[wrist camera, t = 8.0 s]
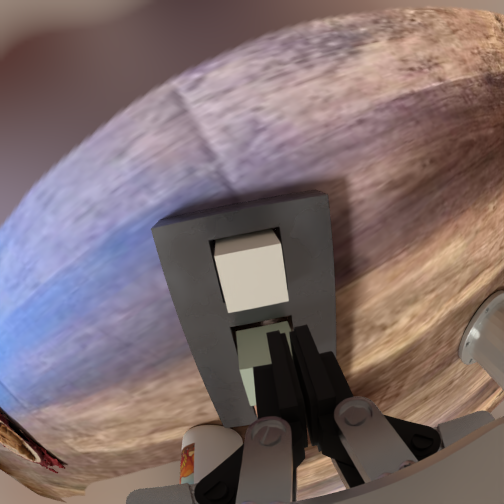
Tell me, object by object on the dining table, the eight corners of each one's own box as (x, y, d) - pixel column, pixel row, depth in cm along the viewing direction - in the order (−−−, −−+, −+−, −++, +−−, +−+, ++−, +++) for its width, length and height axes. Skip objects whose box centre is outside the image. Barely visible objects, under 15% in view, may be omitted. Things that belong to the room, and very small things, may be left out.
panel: (315, 189, 20) (327, 194, 18) (327, 389, 28) (334, 405, 25) (159, 219, 20) (151, 228, 18) (223, 410, 28) (224, 428, 25)
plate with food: (-22, 377, 26) (-31, 388, 22) (66, 464, 34) (62, 475, 30) (-42, 389, 27) (-48, 397, 24) (25, 459, 36) (21, 467, 32)
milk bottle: (211, 415, 28) (217, 573, 9) (254, 438, 30) (274, 571, 11) (170, 435, 29) (161, 569, 10) (213, 455, 31) (218, 574, 13)
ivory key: (269, 225, 21) (280, 243, 16) (276, 273, 22) (288, 300, 18) (216, 235, 20) (214, 256, 16) (227, 283, 22) (228, 313, 18)
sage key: (287, 320, 21) (300, 357, 17) (292, 358, 22) (304, 395, 18) (236, 331, 21) (239, 370, 17) (245, 367, 22) (250, 406, 18)
